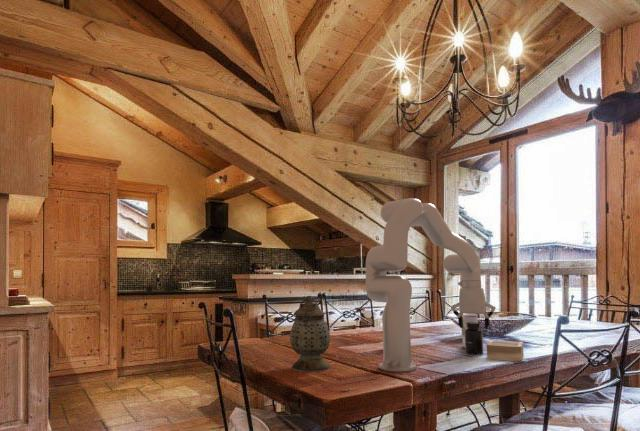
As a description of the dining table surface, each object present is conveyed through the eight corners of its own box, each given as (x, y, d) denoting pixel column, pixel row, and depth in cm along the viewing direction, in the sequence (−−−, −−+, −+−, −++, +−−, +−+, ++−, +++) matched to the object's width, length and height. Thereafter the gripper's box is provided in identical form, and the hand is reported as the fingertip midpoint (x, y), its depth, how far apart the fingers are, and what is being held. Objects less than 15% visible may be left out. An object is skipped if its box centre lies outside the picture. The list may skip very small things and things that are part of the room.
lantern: (339, 367, 166) (337, 295, 168) (309, 374, 156) (308, 297, 158) (311, 362, 176) (310, 294, 178) (281, 368, 166) (281, 296, 168)
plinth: (521, 361, 173) (521, 346, 174) (487, 358, 178) (486, 344, 179) (523, 355, 184) (522, 341, 184) (490, 353, 189) (490, 340, 189)
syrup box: (480, 349, 198) (478, 314, 200) (465, 349, 198) (464, 314, 200) (475, 347, 204) (474, 312, 205) (461, 347, 204) (460, 312, 205)
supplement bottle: (465, 354, 187) (464, 323, 189) (465, 351, 194) (464, 321, 195) (483, 355, 185) (482, 323, 187) (483, 352, 192) (481, 321, 193)
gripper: (447, 285, 193) (450, 328, 191) (492, 285, 186) (495, 329, 184) (451, 284, 200) (453, 325, 198) (495, 284, 192) (497, 327, 191)
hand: (474, 327), depth 191 cm, fingers open, 9 cm apart
